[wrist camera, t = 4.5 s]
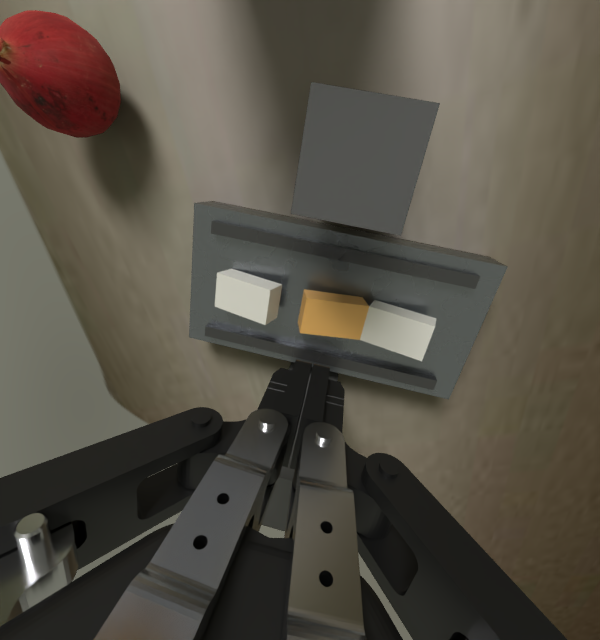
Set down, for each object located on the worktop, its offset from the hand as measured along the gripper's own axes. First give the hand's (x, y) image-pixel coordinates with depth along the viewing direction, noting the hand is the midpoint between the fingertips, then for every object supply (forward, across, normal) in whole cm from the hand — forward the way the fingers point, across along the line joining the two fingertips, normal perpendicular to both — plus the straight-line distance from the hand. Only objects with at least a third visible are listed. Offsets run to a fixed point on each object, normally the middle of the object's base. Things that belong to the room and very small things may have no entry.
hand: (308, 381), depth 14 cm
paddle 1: (+9, +5, 0) cm, 11 cm away
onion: (+13, +18, -11) cm, 24 cm away
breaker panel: (+12, 0, 0) cm, 12 cm away
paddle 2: (+9, -5, 0) cm, 11 cm away
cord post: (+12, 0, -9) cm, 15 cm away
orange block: (+9, 0, 0) cm, 9 cm away
